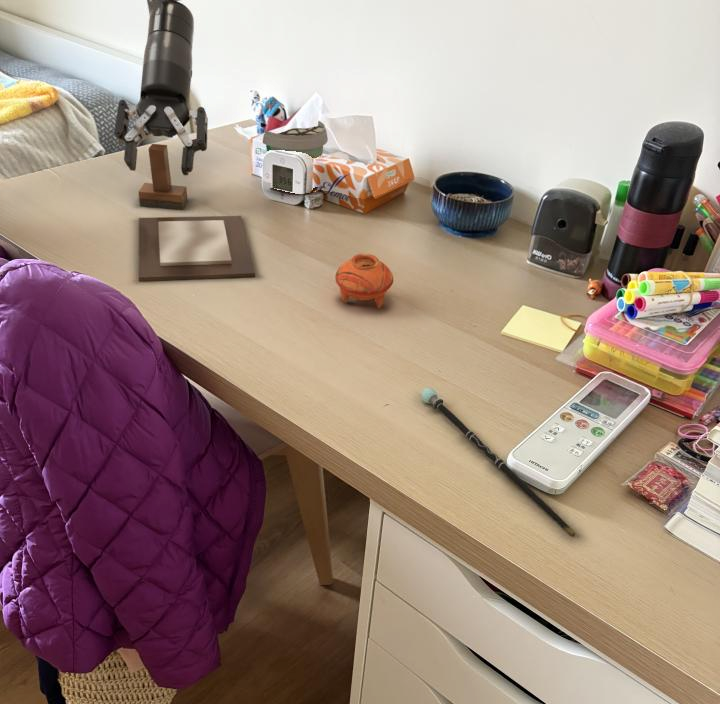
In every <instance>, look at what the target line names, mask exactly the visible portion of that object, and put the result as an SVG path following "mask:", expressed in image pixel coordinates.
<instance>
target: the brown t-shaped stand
mask: <svg viewBox="0 0 720 704" xmlns="http://www.w3.org/2000/svg"><path fill="white" fill-rule="evenodd" d="M148 157H149V158H148V159H149V166H150V173H151V174H150V175H151V180H152V182H143V184H142V186H141V187H140V188H139V190H138V191H137V193H138V201H139V206H140V207H147V208H156V209H157V208H158V209H170V210H181V211H182V210H184V208H185V206H186V205H187V202H188V201H189V198H188V187H187V186H186V185H175V184H172V179H171V170H170V160H169V152H168V145H167V144H160V143H151V145H150V146H149V147H148Z"/></svg>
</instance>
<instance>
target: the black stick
mask: <svg viewBox="0 0 720 704" xmlns="http://www.w3.org/2000/svg"><path fill="white" fill-rule="evenodd" d="M421 400H422V401H423V402H424V403H425V404H429V405H432V409H434V410H439V412H440V413H442V414H443V416H444V417H446V418H447V419H448V420H449V421H450V422H451V423H452V424H453V425H454V426H455V427H456V428H457V429H458V430H459V431H460V432H461V433H462V434H464V435H465V437H466V438H467V439H468V440H469V441H470V442H471V443H473V444H474V445H475V446H476V447H477V448H478V450H480V451H483V453H484V454H485V456H486V457H487V458H488V459H490V460H491V461H492V462H493V464H494V465H495V466H496V467H497V468H498V469H499V470H501V471H502V472H504V473H505V474H506V475H507V476H508V477H509V478H510V479H511V480H512V481H513V482H514V483H515V484H516V485H517V486H519V488H520V489H522V491H524V492H525V493H526V495H528V496H529V497H530V498H531V499H532V500H533V501H534V502H535V503H536V504H537V505H538V506H539V507H540V508H541V509H542V510H544V511H545V512H546V514H548V515H549V517H551V518H552V519H553V520H554V521H555V522H556V523H557V524H558V525H559V526H560V527H562V529H564V530H565V531H566V532H567V533H568V534H569V535H570V536H572V537H574V536H575V535H576V531H575V530H573V528H571V526H570V525H569V524H567V522H566V521H565V520H564V519H562V518H561V516H560V515H559V514H557V513H556V512H555V511H554V510H553V509H552V507H550V506H549V505H548V504H547V503H546V502H545V501H544V500H543V499H541V497H540V496H538V495H537V493H535V492H534V490H532V489H531V488H530V487H529V486H528V485H527V484H526V483H525V482H524V481H523V479H521V478H520V477H519V476H518V475H517V474H516V473H515V472H514V471H513V470H512V469H511V468H510V467H509V466H507V464H506V462H505V461H504V460H503V459H502V458H500V457H499V456H498V455H497V454H496V453H494V452H492V450H491V449H490V448H489V447H488V446H487V445H485V444H484V443H483V441H482V440H481V439H480V438H479V437H478V436H477V435H476V433H474V432H473V431H472V430H470V429H469V428H468V427H467V425H465V424H464V423H463V422H462V421H461V420H460V419H459V418H458V417H457V416H456V415H455V414H454V412H452V411H451V410H450V409H449V408H447V407H446V406H445V405H444V399H442V398H438V392H437V391H436V390H435V389H434V388H431V387H427V388H424V389H423V390H422V391H421Z"/></svg>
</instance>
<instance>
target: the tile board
mask: <svg viewBox="0 0 720 704" xmlns="http://www.w3.org/2000/svg"><path fill="white" fill-rule="evenodd" d="M251 255H252V254H251V251H250V247H249V243H248V238H247V234H246V231H245V226H244V222H243V219H242V215H220V216H219V215H214V216H213V215H212V216H211V215H210V216H206V215H205V216H163V217H162V216H159V217H156V216H155V217H138V281H139V282H147V281H149V282H150V281H151V282H152V281H175V280H176V281H177V280H180V281H181V280H201V279H204V280H205V279H229V278H232V279H233V278H254V277H256V271H255V268H254V263H253V259H252V256H251Z"/></svg>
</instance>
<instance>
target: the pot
mask: <svg viewBox="0 0 720 704" xmlns="http://www.w3.org/2000/svg"><path fill="white" fill-rule="evenodd" d="M334 280H335V283H336V285H337V286H338V288H339V291H340V295H341V299H342V302H343V303H348V300H349V298H350V297H351V298H353V299H355V300H360V301H370V300H374V301H375V303H376V308H377V309H379V308H381V307H382V304H383V302H384V299H385V293H387V292H388V291H389V290H390V289H391V288H392V286H393V283H394V275H393V273H392V271H391V269H390V268H389V267H388V265H386V264H385V263H384V262H382V261H381V260H380V259H379V258H378V257H377V256H376V255H373V254H370V253H368V254H366V253H358V254H356V255H353V257H352V258H350V259H348V260H347V261H345V262H344V263H342V265H341V266H340V267H338V269H337V270H336V272H335V276H334Z"/></svg>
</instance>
